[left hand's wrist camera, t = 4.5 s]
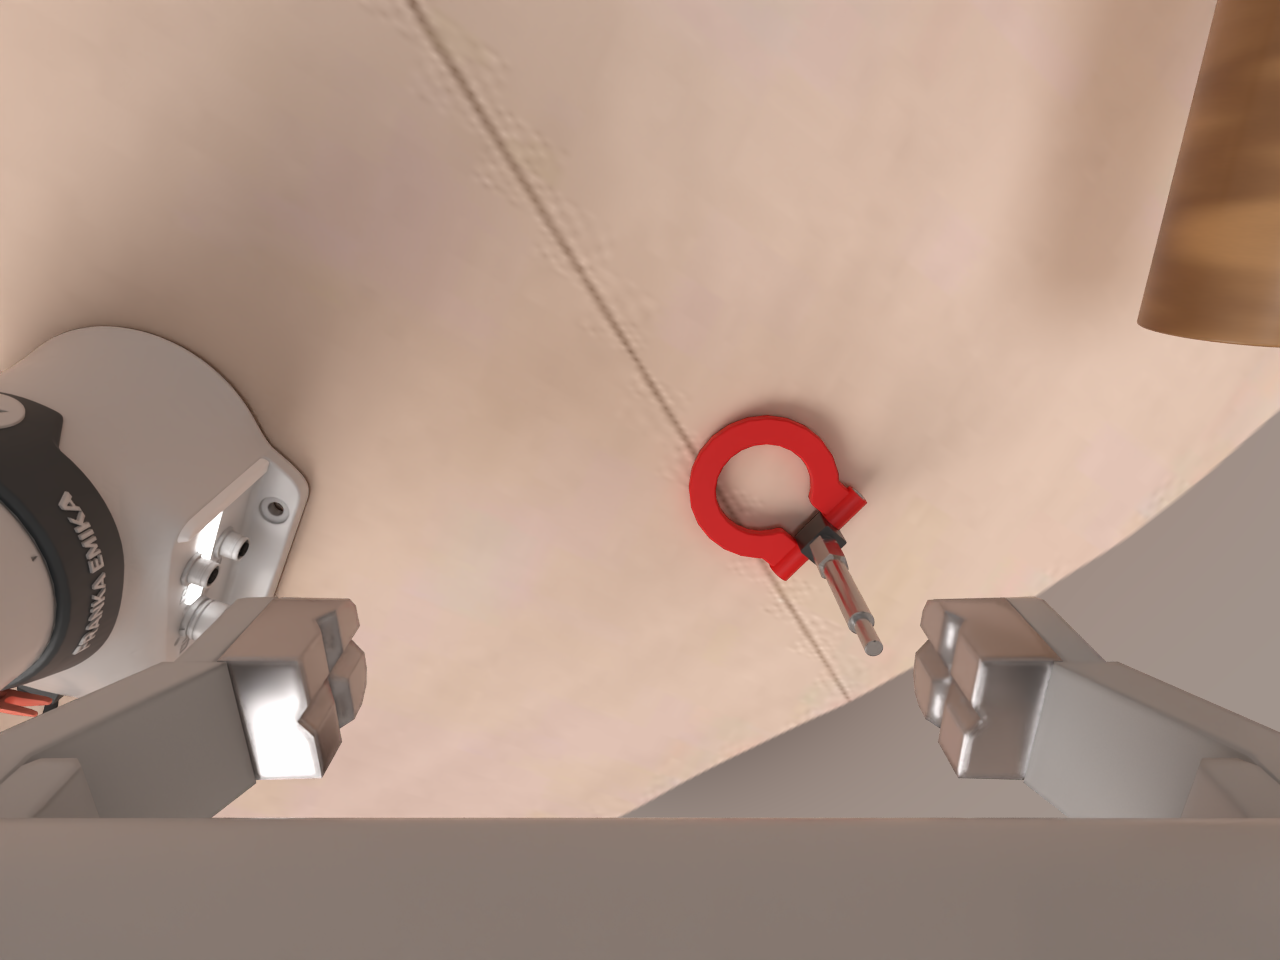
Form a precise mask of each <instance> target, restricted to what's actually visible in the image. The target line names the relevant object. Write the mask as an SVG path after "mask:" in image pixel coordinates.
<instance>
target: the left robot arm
mask: <svg viewBox="0 0 1280 960" xmlns="http://www.w3.org/2000/svg"><path fill="white" fill-rule="evenodd" d="M308 495H309V487H308V484H307V481H306V480H305V478H304V477H303V475H302V474H301V473H300V472H299V471H298V470H297V469H296V468H295V467H294V466H293V465H292V464H291V463H290V462H289V461H288V460H287V459H285V458H284V457H283V456H282V455H281V454H280V453H279V452H277V451H276V450H275V449H274V448H273V447H272V446H271V445H270V444H269V442H268V441H267V440H266V438H265V437H264V435H263V433H262V432H261V430H260V428H259V426H258V424H257V423H256V421H255V419H254V417H253V416H252V414H251V412H250V410H249V409H248V407H247V406H246V404H245V403H244V401H243V400H242V399H241V397H240V396H239V395H238V394H237V392H236V391H235V390H234V389H233V387H232V386H231V385H230V384H229V383H228V382H227V381H226V380H225V379H224V378H223V377H222V376H221V375H220V374H219V373H218V372H217V371H216V370H214V369H213V368H212V367H211V366H209V365H208V364H207V363H206V362H204V361H203V360H202V359H200V358H199V357H197V356H196V355H194V354H193V353H191V352H190V351H188V350H186V349H184V348H183V347H181V346H179V345H177V344H175V343H173V342H171V341H169V340H166V339H164V338H162V337H159V336H156V335H153V334H150V333H147V332H143V331H140V330H135V329H130V328H124V327H114V326H95V327H86V328H80V329H75V330H71V331H68V332H65V333H62V334H60V335H57V336H55V337H53V338H51V339H50V340H48V341H46V342H45V343H43V344H42V345H40V346H39V347H37V348H36V349H35V350H34V351H32V352H31V353H30V354H29V355H27V356H26V357H25V358H23V359H22V360H21V361H19V362H17V363H16V364H14V365H13V366H11V367H9V368H8V369H6V370H4V371H3V372H1V373H0V712H3V713H8V714H13V715H22V716H31V717H34V718H32V719H29V720H27V721H25V722H23V723H20V724H18V725H16V726H13V727H11V728H9V729H6V730H4V731H2V732H0V960H1280V732H1278V731H1275V730H1273V729H1271V728H1268V727H1266V726H1264V725H1262V724H1259V723H1257V722H1255V721H1252V720H1250V719H1248V718H1246V717H1243V716H1241V715H1239V714H1236V713H1234V712H1232V711H1230V710H1227V709H1225V708H1223V707H1220V706H1218V705H1216V704H1213V703H1211V702H1209V701H1207V700H1204V699H1202V698H1200V697H1197V696H1195V695H1193V694H1191V693H1188V692H1186V691H1184V690H1181V689H1179V688H1177V687H1174V686H1172V685H1170V684H1168V683H1165V682H1163V681H1161V680H1158V679H1156V678H1154V677H1151V676H1149V675H1147V674H1145V673H1142V672H1140V671H1138V670H1135V669H1133V668H1131V667H1129V666H1126V665H1124V664H1122V663H1119V662H1106V661H1105V660H1104V659H1103V658H1102V657H1101V656H1100V655H1099V654H1098V653H1097V652H1096V651H1095V650H1094V649H1093V648H1092V647H1091V646H1090V645H1089V644H1088V643H1087V642H1086V641H1085V640H1084V639H1083V638H1082V637H1081V636H1080V635H1079V634H1078V633H1077V632H1076V631H1075V630H1074V629H1073V628H1072V627H1071V626H1070V625H1069V624H1068V623H1067V622H1065V620H1064V619H1062V617H1061V616H1060V615H1059V614H1057V613H1056V612H1055V611H1054V610H1053V609H1052V608H1051V607H1050V606H1049V605H1048V604H1047V603H1046V602H1045V601H1044V600H1043V599H1040V598H1037V597H1010V598H968V599H934V600H928V601H927V603H926V605H925V607H924V609H923V613H922V618H921V624H920V626H921V628H922V630H923V631H924V633H925V634H926V636H927V637H928V639H929V640H928V641H927V642H926V643H925V644H924V645H923V646H922V647H921V648H920V649H919V650H918V651H917V652H916V654H915V662H914V670H913V677H914V688H915V694H916V698H917V701H918V704H919V707H920V709H921V711H922V713H923V715H924V717H925V719H926V720H928V721H930V722H931V723H933V724H934V725H936V726H937V727H939V728H940V734H939V740H938V743H939V744H940V746H941V748H942V750H943V752H944V753H945V755H946V757H947V759H948V761H949V762H950V764H951V766H952V768H953V770H954V771H955V773H956V775H957V777H958V778H976V779H1013V780H1024V783H1025V784H1026V785H1027V786H1029V787H1030V788H1031V789H1032V790H1034V791H1035V792H1036V793H1038V794H1039V795H1040V796H1041V797H1043V798H1044V799H1045V800H1047V801H1048V802H1049V803H1050V804H1052V805H1053V806H1054V807H1056V808H1057V809H1058V810H1060V811H1061V812H1062V813H1063V814H1065V815H1066V816H1067V817H1069V818H212V817H213V816H214V815H216V814H217V813H218V812H219V811H221V810H222V809H223V808H225V807H226V806H227V805H228V804H230V803H231V802H232V801H234V800H235V799H236V798H238V797H239V796H240V795H241V794H243V793H244V792H245V791H247V790H248V789H249V788H250V787H252V786H253V785H254V784H256V780H267V779H302V778H322V777H323V775H324V773H325V771H326V770H327V768H328V766H329V764H330V762H331V761H332V759H333V757H334V755H335V753H336V752H337V750H338V748H339V746H340V744H341V743H342V740H341V734H340V728H341V727H343V726H344V725H346V724H347V723H349V722H350V721H352V720H354V719H355V717H356V715H357V713H358V711H359V709H360V707H361V705H362V701H363V697H364V693H365V688H366V672H367V667H366V661H365V654H364V652H363V651H362V650H361V649H360V648H359V647H358V646H357V645H356V644H355V643H354V642H353V641H352V640H351V639H352V637H353V636H354V634H355V633H356V631H357V630H358V628H359V626H360V624H359V619H358V614H357V609H356V605H355V604H354V603H353V602H352V601H351V600H350V599H341V598H289V597H281V598H278V597H274V594H275V591H276V588H277V585H278V582H279V579H280V577H281V574H282V571H283V568H284V565H285V562H286V559H287V556H288V554H289V551H290V548H291V545H292V542H293V539H294V536H295V534H296V531H297V528H298V525H299V522H300V519H301V516H302V513H303V511H304V508H305V505H306V502H307V499H308ZM274 502H277V503H279V504H281V505H282V507H283V511H280V510H278V509H277V508H276V507H275V505H274ZM14 687H17V690H18V691H17V690H12V689H10V688H14ZM64 695H65V696H71V697H76V698H78V699H75V700H73V701H71V702H69V703H66V704H64V705H62V706H59V707H58V700H59V699H60V698H62V697H63V696H64ZM38 705H45V707H44V711H43V714H41V715H39V716H37V715H38V712H37V711H34V710H32V709H28V708H25V707H21V706H38Z"/></svg>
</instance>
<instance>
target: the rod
mask: <svg viewBox="0 0 1280 960" xmlns="http://www.w3.org/2000/svg"><path fill="white" fill-rule="evenodd" d="M1137 323H1138V325H1140V326H1142V327H1144V328H1146V329H1149V330H1152V331H1155V332H1159V333H1163V334H1168V335H1173V336H1178V337H1184V338H1190V339H1197V340H1204V341H1211V342H1220V343H1229V344H1238V345H1250V346H1263V347H1280V0H1217V4H1216V8H1215V12H1214V16H1213V20H1212V24H1211V28H1210V32H1209V36H1208V40H1207V44H1206V48H1205V52H1204V56H1203V60H1202V64H1201V68H1200V72H1199V76H1198V80H1197V84H1196V88H1195V92H1194V96H1193V100H1192V104H1191V108H1190V112H1189V116H1188V120H1187V124H1186V128H1185V132H1184V136H1183V140H1182V144H1181V148H1180V152H1179V156H1178V160H1177V164H1176V168H1175V172H1174V176H1173V180H1172V184H1171V188H1170V192H1169V196H1168V200H1167V204H1166V208H1165V212H1164V216H1163V220H1162V224H1161V228H1160V232H1159V236H1158V240H1157V244H1156V248H1155V252H1154V256H1153V260H1152V264H1151V268H1150V272H1149V276H1148V280H1147V283H1146V287H1145V291H1144V295H1143V299H1142V303H1141V307H1140V311H1139V315H1138V319H1137Z"/></svg>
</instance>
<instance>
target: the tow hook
mask: <svg viewBox="0 0 1280 960" xmlns="http://www.w3.org/2000/svg"><path fill="white" fill-rule="evenodd" d="M764 444H770V445H777V446H781V447H783V448H786V449H788V450H791V451H792V452H793V453H795V454H796V455H797V456H799V457H800V458H801V459H802V461H803V462H804V463H805V465H806V466H807V469H808V472H809V475H810V487H811V488H810V492H809V499H810V502H811V504H812V505H813V506H814V507H815V508H817V509H818V510H819V511H820V512H819V513H818V514H817V515H816V516H815V517H814V518H813V519H812V520H811V521H810V522H809V523H808V524H807V525H806V526H805V527H804V528H803V529H802V530H801V531H800V532H798V533H797V534H796V536H795V538H793V537H792V536H791V535H790V534H789V533H787V532H786V531H785V530H784V529H783V528H775V529H771V530H762V531H758V530H751V529H746V528H744V527H741V526H739V525H737V524H735V523H734V522H733V521H731V520H730V519H729V518H727V516H726V515H725V514H724V513H723V511H722V510H721V509H720V506H719V504H718V501H717V499H716V485H717V479H718V476H719V474H720V472H721V470H722V468H723V467H724V465H725V464H726V463H727V462H728V461H729V460H730V458H731V457H733V456H734V455H736V454H737V453H738V452H740V451H741V450H744V449H746V448H749V447H752V446H755V445H764ZM689 492H690V501H691V508H692V511H693V513H694V515H695V518H696V520H697V523H698V525H699V526H700V527H701V528H702V530H703V531H704V532H705V533H706V535H707V536H708V537H709V538H710V539H711V540H712V541H714V542H715V543H717V544H718V545H719V546H721V547H722V548H723V549H725V550H728V551H730V552H733V553H735V554H738V555H740V556H746V557H754V558H763V559H764V560H765V561H766V562H768V563H769V565H770V567H771V569H772V570H773V571H774V573H775V574H776V575H777V576H778V577H780V578H781V579H783V580H785V581H787V580H788V579H789V578H790V577H791V576H792V575H793V574H794V573H795V572H796V571H797V570H798V569H799V568H800V567H801V566H802V565H803V564H804V563H805V562H806V561H807V560H808V559H810V560H811V561H812V562H813V563H814V564H816V566H817V568H818V570H819V572H820V574H821V577H822V578H824V579H827V581H828V584H829V586H830V588H831V590H832V592H833V594H834V597H835V599H836V601H837V603H838V605H839V607H840V610H841V612H842V614H843V616H844V618H845V620H846V623H847V625H848V627H849V629H850V630H851V631H852V632H853V633H856V634H857V635H858V637H859V639H860V641H861V644H862V646H863V648H864V650H865V652H866V653H867V654H868V655H870V656H876V655H879V654H880V653H881V652H882V650H883V645H882V643H881V641H880V639H879V637H878V635H877V634H876V632H875V630H874V628H873V626H874V618H873V616H872V614H871V612H870V610H869V608H868V607H867V605H866V603H865V601H864V599H863V597H862V595H861V594H860V592H859V590H858V588H857V586H856V584H855V582H854V580H853V579H852V577H851V575H850V573H849V571H848V565H847V562H846V558H845V556H844V554H843V552H842V550H841V548H842V547H843V546H844V545H845V544H846V540H845V539H844V537H843V535H842V534H841V532H840V529H841V528H842V527H843V526H844V525H845V524H846V523H847V522H848V521H849V520H850V519H851V518H852V517H853V516H854V515H855V514H856V513H857V512H858V511H859V510H860V509H861V508H862V507H863V506H865V505H866V504H867V502H866V500H865V498H864V497H863V496H862V495H861V494H860V493H859V492H858V491H857V490H856V489H854V488H852V487H850V486H849V487H847V488H846V487H845V486H844V485H843V484H842V483H841V482H839V474H838V470H837V467H836V464H835V462H834V459H833V456H832V454H831V453H830V451H829V450H828V449H827V447H826V446H825V444H824V443H823V441H822V440H821V439H820V437H818V436H817V435H816V434H815V433H813V432H812V431H811V430H810V429H808V428H807V427H806V426H805V425H802V424H800V423H798V422H795V421H793V420H790V419H788V418H784V417H777V416H769V415H764V416H756V417H747V418H745V419H742V420H739V421H737V422H734V423H731V424H729V425H727V426H726V427H724V428H723V429H722V430H720V431H719V432H717V433H716V434H715V435H713V436H712V437H711V438H710V439H709V441H708V442H707V443H706V444H705V445H704V446H703V448H702V449H701V450H700V452H699V454H698V456H697V458H696V460H695V462H694V464H693V467H692V470H691V476H690V482H689Z"/></svg>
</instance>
